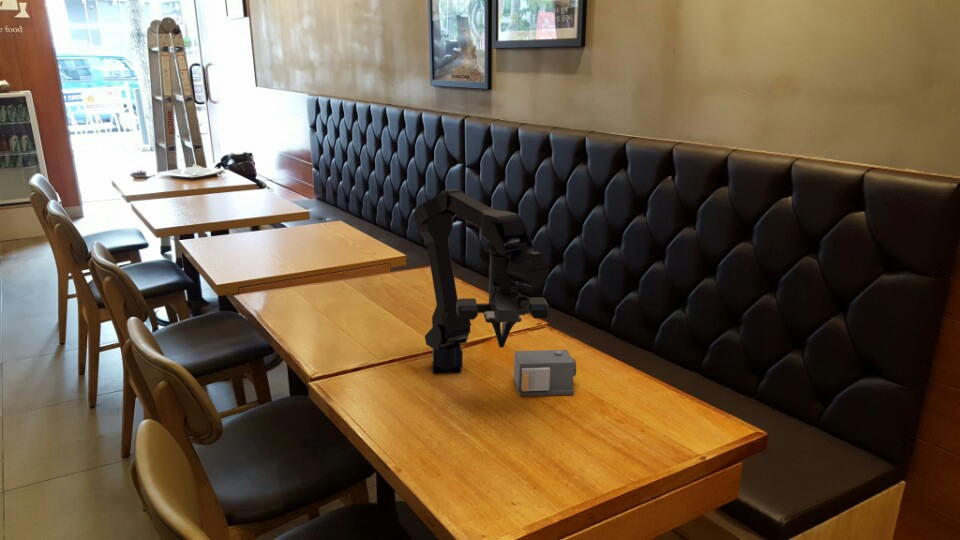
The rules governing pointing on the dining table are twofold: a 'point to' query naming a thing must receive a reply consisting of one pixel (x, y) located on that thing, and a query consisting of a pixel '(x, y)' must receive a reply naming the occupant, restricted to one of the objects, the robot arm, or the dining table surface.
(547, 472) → the dining table surface
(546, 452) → the dining table surface
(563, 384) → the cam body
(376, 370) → the dining table surface
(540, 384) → the side door
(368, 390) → the dining table surface
